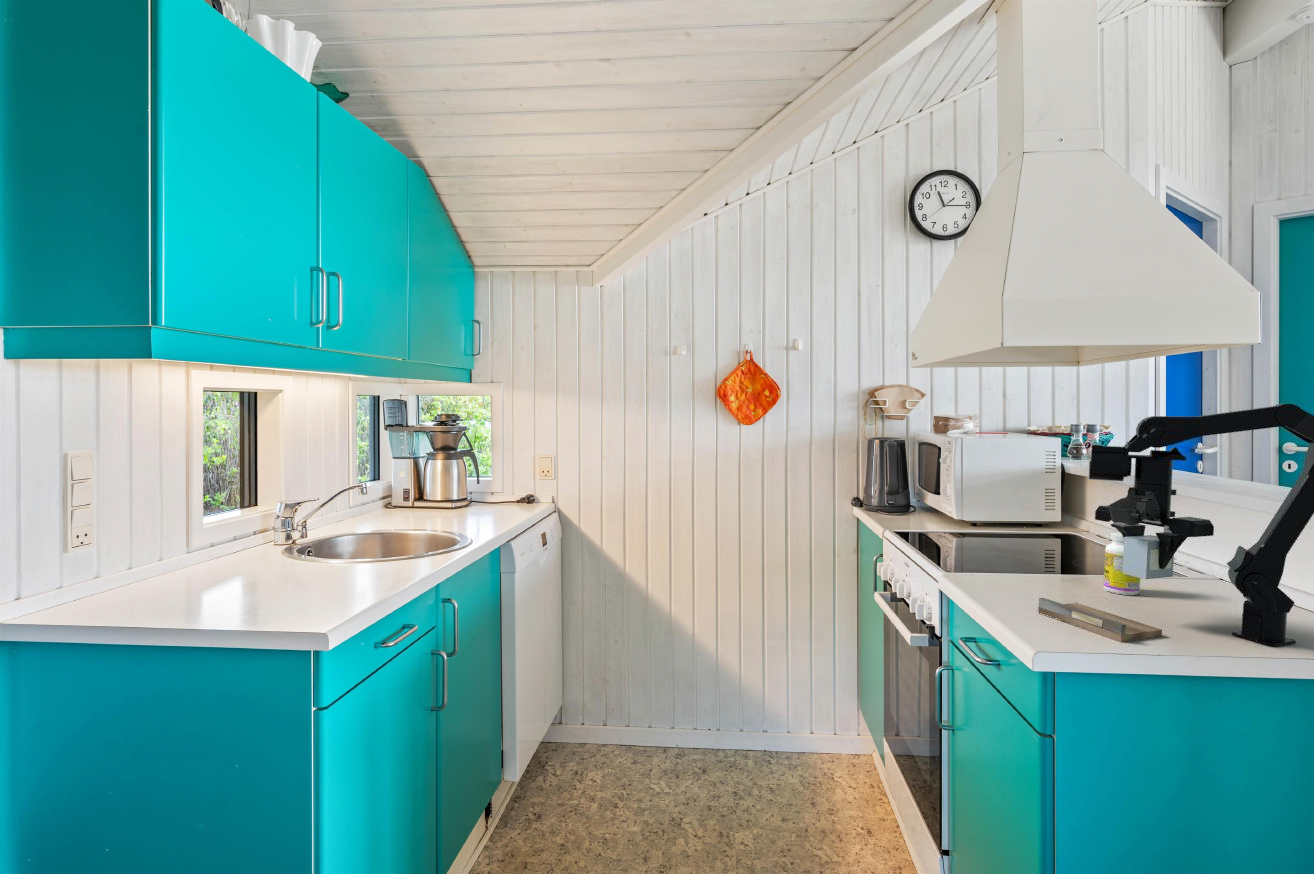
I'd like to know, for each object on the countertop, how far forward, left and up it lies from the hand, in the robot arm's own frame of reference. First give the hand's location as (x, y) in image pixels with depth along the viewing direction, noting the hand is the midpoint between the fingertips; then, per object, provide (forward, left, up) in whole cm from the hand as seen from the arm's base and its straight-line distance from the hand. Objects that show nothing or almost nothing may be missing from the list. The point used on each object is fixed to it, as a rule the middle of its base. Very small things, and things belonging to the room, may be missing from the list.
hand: (1148, 565), depth 130 cm
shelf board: (+10, -2, -11) cm, 15 cm away
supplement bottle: (-16, -17, -11) cm, 26 cm away
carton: (0, 0, -2) cm, 2 cm away
